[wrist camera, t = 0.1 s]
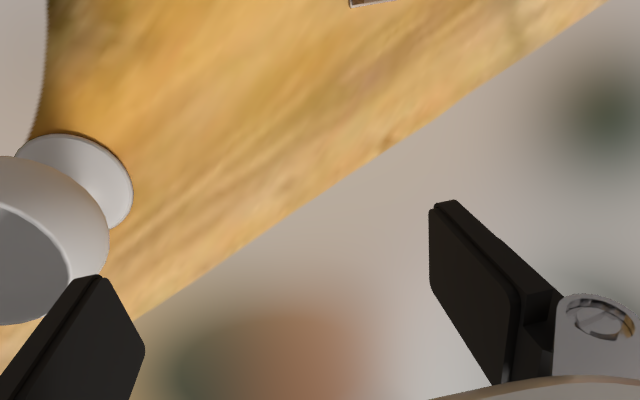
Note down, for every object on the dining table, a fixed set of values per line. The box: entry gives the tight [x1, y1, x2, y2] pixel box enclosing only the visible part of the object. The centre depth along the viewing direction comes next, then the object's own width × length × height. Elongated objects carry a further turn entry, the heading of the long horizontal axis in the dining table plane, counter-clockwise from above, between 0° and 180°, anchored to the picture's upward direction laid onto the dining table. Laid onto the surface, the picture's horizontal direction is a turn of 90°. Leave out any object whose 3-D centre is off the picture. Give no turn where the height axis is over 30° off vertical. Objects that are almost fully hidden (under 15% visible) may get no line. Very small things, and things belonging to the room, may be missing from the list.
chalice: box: [0, 134, 134, 325], centre depth 33 cm, size 14×14×15 cm
